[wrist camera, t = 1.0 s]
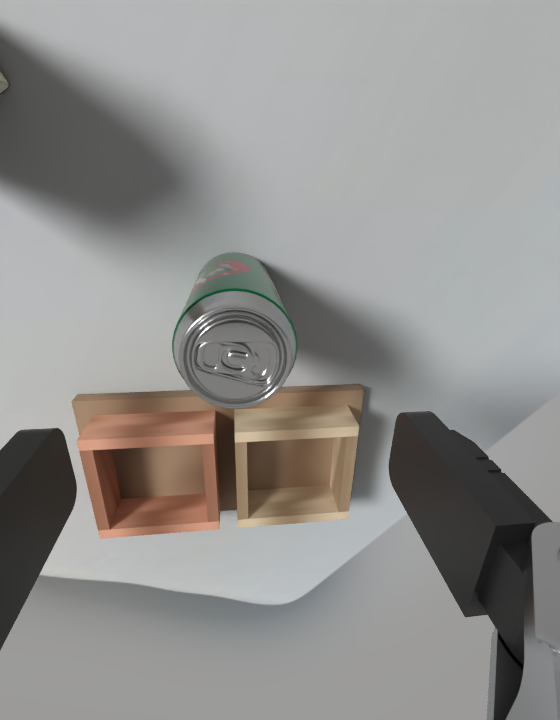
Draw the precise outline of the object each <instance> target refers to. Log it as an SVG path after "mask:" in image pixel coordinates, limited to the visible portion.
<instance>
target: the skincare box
mask: <svg viewBox="0 0 560 720" xmlns="http://www.w3.org/2000/svg"><path fill="white" fill-rule="evenodd" d="M8 86H9V84H8V82H7V80H6V79H5V78H4V76H3V75H2V73H1V72H0V93H1V92H3V91H4V90H5V89H6V88H8Z"/></svg>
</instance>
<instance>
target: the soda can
mask: <svg viewBox="0 0 560 720" xmlns="http://www.w3.org/2000/svg"><path fill="white" fill-rule="evenodd" d="M172 351H173V357H174V361H175V364H176V367H177V369H178V371H179V373H180V375H181V376H182V378H183V379H184V380H185V382H186V384H187V385H188V386H189V388H190V389H191V390H192V391H193V392H194V393H195V394H196V395H197V396H198V397H200V398H201V399H203V400H204V401H206V402H208V403H210V404H212V405H215V406H219V407H223V408H229V409H240V408H247V407H251V406H255V405H257V404H260V403H262V402H264V401H266V400H267V399H269V398H270V397H271V396H273V395H274V394H275V393H276V392H277V391H278V390H279V389H280V388H281V386H282V385H283V384H284V382H285V380H286V378H287V377H288V376H289V374H290V372H291V370H292V368H293V366H294V363H295V359H296V354H297V338H296V333H295V330H294V327H293V324H292V322H291V320H290V318H289V315H288V313H287V311H286V309H285V307H284V305H283V303H282V301H281V298H280V296H279V294H278V292H277V290H276V288H275V286H274V284H273V281H272V279H271V277H270V275H269V273H268V272H267V270H266V269H265V267H264V266H263V265H262V264H261V263H260V262H259V261H257V260H256V259H254V258H253V257H251V256H248V255H246V254H242V253H226V254H222V255H219V256H217V257H215V258H213V259H212V260H210V261H209V262H208V263H207V264H206V265H205V266H204V267H203V269H202V270H201V272H200V274H199V276H198V278H197V280H196V283H195V285H194V287H193V289H192V292H191V294H190V296H189V298H188V300H187V303H186V305H185V307H184V309H183V311H182V314H181V316H180V318H179V320H178V322H177V325H176V328H175V331H174V335H173V340H172Z"/></svg>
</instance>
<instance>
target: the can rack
mask: <svg viewBox="0 0 560 720" xmlns="http://www.w3.org/2000/svg"><path fill="white" fill-rule="evenodd" d="M363 394H364V390H363V388H362V387H361V385H360V384H352V385H325V386H298V387H281V388H280V389H279V390H278V391H277V392H276V393H275V394H274V395H273V396H271V397H270V398H269V399H267V400H266V401H264V402H262V403H260V404H257V405H255V406H251V407H247V408H240V409H229V408H223V407H219V406H215V405H212V404H210V403H208V402H206V401H204V400H203V399H201V398H200V397H198V396H197V395H196V394H195V393H194V392H193V391H192V390H189V391H162V392H134V393H107V394H80V395H77V396H76V397H75V398H74V399H73V401H72V405H73V409H74V413H75V418H76V422H77V426H78V431H79V435H80V436H79V438H78V439H77V444H78V448H79V452H80V456H81V460H82V465H83V469H84V473H85V477H86V481H87V486H88V490H89V494H90V498H91V502H92V507H93V511H94V515H95V519H96V523H97V528H98V532H99V536H100V539H101V538H113V537H126V536H139V535H152V534H164V533H177V532H190V531H203V530H215V529H219V524H220V511H226V510H237V516H238V528H241V527H254V526H266V525H279V524H292V523H304V522H317V521H330V520H343V519H348V514H349V506H350V500H351V492H352V484H353V476H354V468H355V460H356V451H357V443H358V435H359V427H360V419H361V410H362V402H363Z"/></svg>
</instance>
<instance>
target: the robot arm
mask: <svg viewBox="0 0 560 720" xmlns="http://www.w3.org/2000/svg"><path fill="white" fill-rule="evenodd" d="M389 475H390V480H391V483H392V486H393V488H394V490H395V492H396V494H397V495H398V497H399V499H400V501H401V503H402V504H403V506H404V508H405V510H406V512H407V513H408V515H409V517H410V519H411V521H412V522H413V524H414V526H415V528H416V529H417V531H418V533H419V535H420V537H421V539H422V540H423V542H424V544H425V546H426V548H427V549H428V551H429V553H430V555H431V557H432V558H433V560H434V562H435V564H436V565H437V567H438V569H439V571H440V573H441V575H442V576H443V578H444V580H445V582H446V583H447V585H448V587H449V589H450V591H451V593H452V594H453V596H454V598H455V600H456V602H457V603H458V605H459V607H460V609H461V611H462V612H463V614H464V616H465V617H471V616H479V615H488V616H489V617H490V619H491V621H492V622H493V624H494V625H495V629H494V631H493V634H492V639H491V657H490V673H489V689H488V705H487V720H560V523H558V522H552V521H551V520H550V519H549V518H548V517H547V516H546V515H545V514H544V513H543V511H542V510H541V509H539V507H537V506H536V504H535V503H534V502H533V501H532V500H531V499H529V497H528V496H527V495H526V494H524V493H523V491H521V489H520V488H519V487H518V486H517V485H516V484H515V483H514V482H513V481H512V480H511V479H510V478H509V477H508V476H507V475H506V474H505V473H502V472H501V469H500V468H499V467H498V466H497V465H496V464H495V463H494V462H493V461H492V460H489V458H488V456H487V455H486V454H485V453H484V452H483V451H482V450H481V449H480V448H479V447H478V446H477V445H476V444H475V443H474V442H473V441H471V440H469V439H468V438H466V437H464V436H463V435H461V434H459V433H458V432H456V431H454V430H449V429H448V428H447V427H446V426H445V425H444V424H443V423H442V422H441V420H440V419H439V418H438V417H437V416H436V415H435V414H434V413H432V412H430V411H426V412H405V413H400V414H399V415H398V416H397V419H396V423H395V429H394V435H393V441H392V447H391V453H390V459H389ZM76 492H77V486H76V479H75V475H74V471H73V468H72V464H71V460H70V456H69V452H68V448H67V444H66V440H65V436H64V434H63V432H62V431H61V430H60V429H58V428H51V429H30V430H20V431H18V432H17V433H16V434H15V435H14V436H13V437H12V438H11V439H10V440H9V442H8V443H7V444H6V445H5V446H4V447H3V448H2V449H1V450H0V650H1V648H2V646H3V643H4V642H5V640H6V638H7V636H8V634H9V632H10V630H11V628H12V626H13V624H14V622H15V621H16V619H17V617H18V615H19V613H20V610H21V609H22V607H23V605H24V603H25V601H26V599H27V597H28V595H29V593H30V591H31V589H32V587H33V586H34V584H35V582H36V580H37V578H38V576H39V574H40V572H41V570H42V568H43V566H44V564H45V562H46V560H47V558H48V556H49V554H50V553H51V551H52V549H53V547H54V545H55V543H56V541H57V539H58V537H59V535H60V533H61V531H62V529H63V527H64V525H65V523H66V521H67V519H68V518H69V516H70V514H71V512H72V510H73V507H74V504H75V500H76Z"/></svg>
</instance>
